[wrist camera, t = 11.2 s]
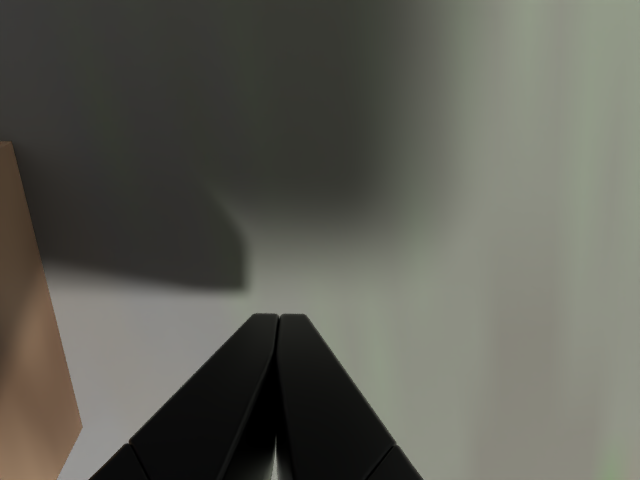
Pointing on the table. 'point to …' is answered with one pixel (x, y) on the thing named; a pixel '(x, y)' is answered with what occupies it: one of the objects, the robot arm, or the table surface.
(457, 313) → the table surface
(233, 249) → the table surface
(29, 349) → the walnut block
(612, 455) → the table surface
